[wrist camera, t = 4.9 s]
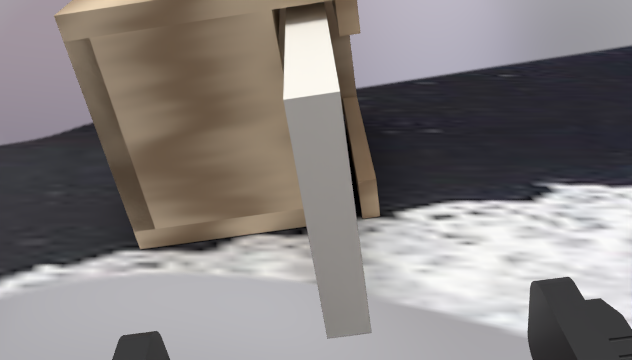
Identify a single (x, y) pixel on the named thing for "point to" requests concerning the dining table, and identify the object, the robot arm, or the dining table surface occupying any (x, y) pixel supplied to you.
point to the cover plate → (324, 169)
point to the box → (203, 111)
